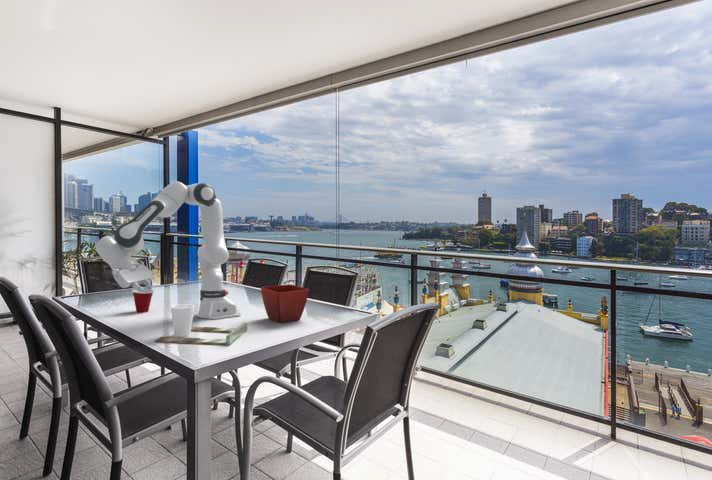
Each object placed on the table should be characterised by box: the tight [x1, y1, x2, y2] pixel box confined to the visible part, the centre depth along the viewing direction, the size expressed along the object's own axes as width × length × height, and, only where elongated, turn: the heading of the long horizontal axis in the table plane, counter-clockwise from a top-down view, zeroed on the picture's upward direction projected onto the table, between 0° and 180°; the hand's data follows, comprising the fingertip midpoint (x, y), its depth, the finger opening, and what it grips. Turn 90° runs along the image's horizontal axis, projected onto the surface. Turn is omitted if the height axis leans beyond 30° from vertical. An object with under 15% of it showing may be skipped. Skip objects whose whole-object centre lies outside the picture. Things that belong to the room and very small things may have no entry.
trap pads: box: [182, 326, 218, 342], centre depth 166 cm, size 6×22×1 cm, turn 178°
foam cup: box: [170, 303, 195, 338], centre depth 166 cm, size 10×9×13 cm
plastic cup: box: [131, 288, 155, 314], centre depth 207 cm, size 11×11×12 cm
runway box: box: [154, 321, 248, 346], centre depth 166 cm, size 32×22×4 cm
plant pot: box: [260, 284, 309, 324], centre depth 201 cm, size 19×19×17 cm
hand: (147, 290), depth 166 cm, fingers open, 5 cm apart
